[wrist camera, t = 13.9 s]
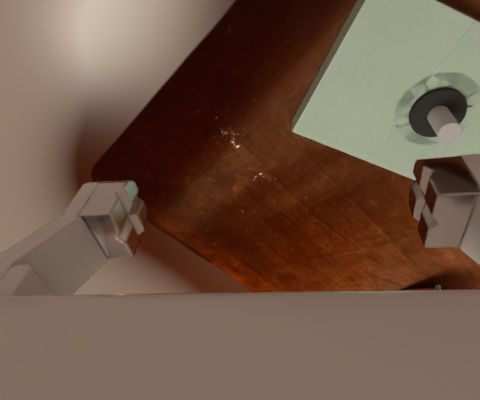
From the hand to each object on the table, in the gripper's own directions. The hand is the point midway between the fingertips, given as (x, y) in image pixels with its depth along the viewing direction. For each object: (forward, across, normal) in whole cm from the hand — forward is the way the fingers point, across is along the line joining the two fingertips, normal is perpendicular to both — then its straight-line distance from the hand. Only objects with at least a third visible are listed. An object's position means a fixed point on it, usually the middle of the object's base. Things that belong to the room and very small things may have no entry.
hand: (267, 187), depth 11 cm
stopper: (+28, -15, +13) cm, 34 cm away
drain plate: (+29, -14, +13) cm, 35 cm away
